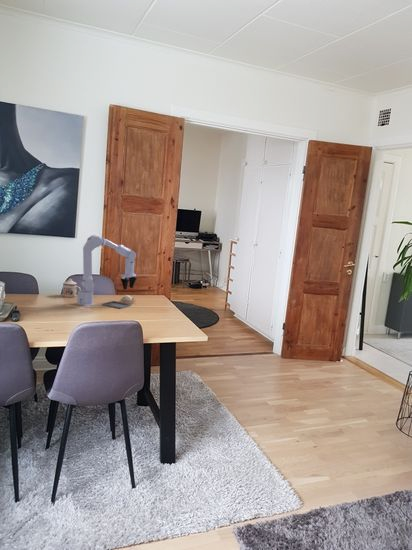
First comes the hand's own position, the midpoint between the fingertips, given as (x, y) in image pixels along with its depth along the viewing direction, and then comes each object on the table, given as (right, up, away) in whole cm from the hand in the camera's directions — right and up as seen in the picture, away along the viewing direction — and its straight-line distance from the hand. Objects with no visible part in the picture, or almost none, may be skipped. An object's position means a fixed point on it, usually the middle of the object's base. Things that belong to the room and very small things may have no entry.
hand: (128, 288), depth 281 cm
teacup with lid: (-40, -6, +6) cm, 41 cm away
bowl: (-1, -10, +2) cm, 10 cm away
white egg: (0, -10, 0) cm, 10 cm away
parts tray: (-6, -11, -10) cm, 16 cm away
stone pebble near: (-1, -9, +4) cm, 10 cm away
